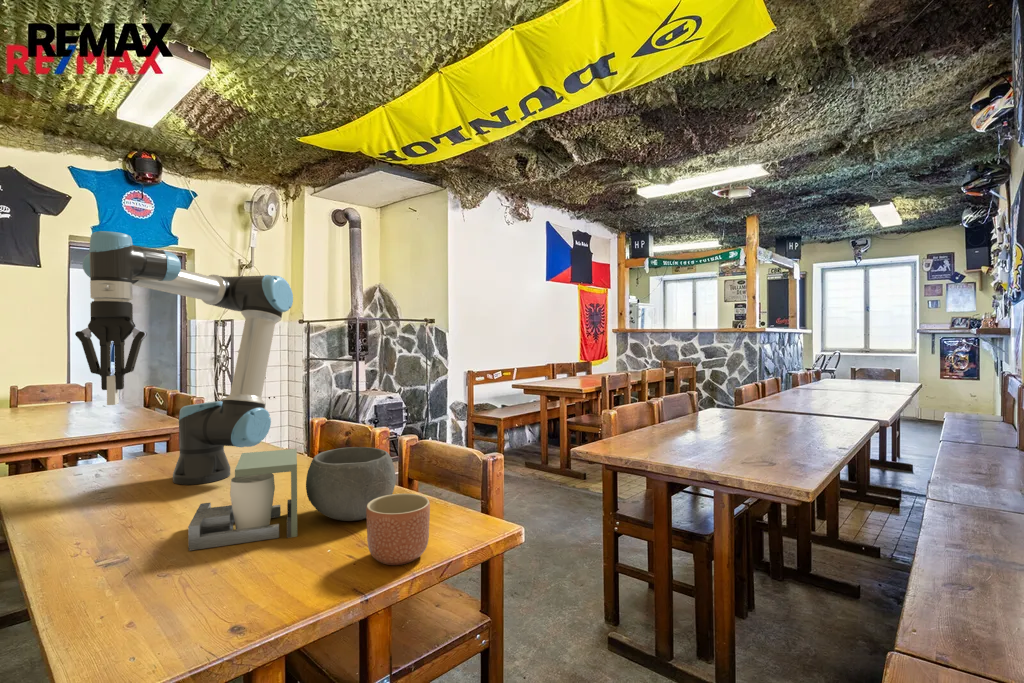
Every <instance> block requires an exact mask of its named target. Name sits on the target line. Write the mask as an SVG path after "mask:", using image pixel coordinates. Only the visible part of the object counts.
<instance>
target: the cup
mask: <svg viewBox="0 0 1024 683" xmlns="http://www.w3.org/2000/svg"><path fill="white" fill-rule="evenodd" d="M274 474H275V473H271V474H261V475H251V476H240V477H235V476H234V477H232V478H231V480H230V491H229V496H230V501H231V505H232V509H233V515H234V521H235V523H234V525H235V530H238V529H245V528H252V527H260V526H267V525H271V519H272V518H271V511H272V506H273V503H274V497H275V496H274V495H275V490H276V487H275V475H274Z"/></svg>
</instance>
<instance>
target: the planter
mask: <svg viewBox="0 0 1024 683" xmlns="http://www.w3.org/2000/svg"><path fill="white" fill-rule="evenodd" d="M430 514H431V503H430V500H429V498H427V497H426V496H425V495H424V496H423V495H422V494H421V495H420V494H416V493H394V494H391V495H386V496H382V497H378V498H376V499H373V500H372V501H370V502H369V503H368V504H367V508H366V518H365V520H366V534H367V535H366V536H367V539H366V541H367V548H368V550H369V553H370V555H371V557H372V558H373V559H375V560H376V561H377V562H379V563H381V564H384V565H389V566H401V565H406V564H409V563H413V562H414V561H415V560H417V559H418V558H419V557H421V556H422V555H423V553H424V552H425V551H426V549H427V547H428V545H429V538H430V519H431V515H430Z"/></svg>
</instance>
